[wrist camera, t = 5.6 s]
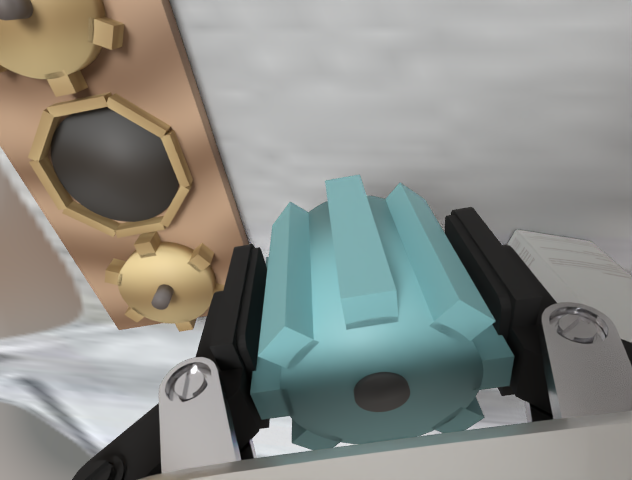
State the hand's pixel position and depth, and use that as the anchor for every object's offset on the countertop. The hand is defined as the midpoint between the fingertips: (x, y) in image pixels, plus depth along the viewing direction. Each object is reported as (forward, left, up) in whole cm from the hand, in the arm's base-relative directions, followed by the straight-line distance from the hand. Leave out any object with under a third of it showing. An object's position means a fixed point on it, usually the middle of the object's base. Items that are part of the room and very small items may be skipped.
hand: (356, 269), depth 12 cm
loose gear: (0, 0, -1) cm, 1 cm away
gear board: (0, -14, -17) cm, 22 cm away
